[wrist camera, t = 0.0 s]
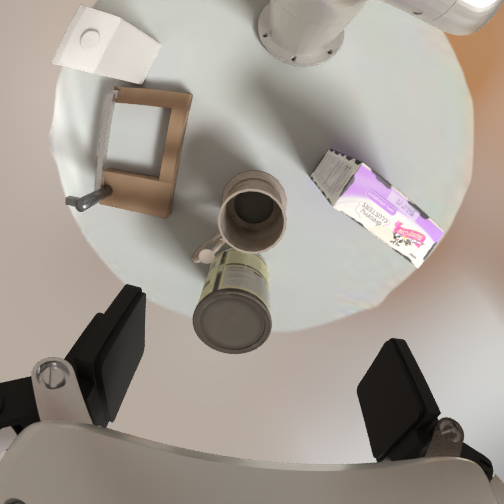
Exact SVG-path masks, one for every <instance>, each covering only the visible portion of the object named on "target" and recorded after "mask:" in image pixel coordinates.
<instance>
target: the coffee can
mask: <svg viewBox="0 0 504 504" xmlns="http://www.w3.org/2000/svg"><path fill="white" fill-rule="evenodd" d="M193 326H194V330H195V332H196V334H197V336H198V337H199V338H200V339H201V340H202V341H203V342H204V343H205V344H206V345H208V346H209V347H211V348H212V349H214V350H217V351H219V352H223V353H229V354H241V353H246V352H250V351H252V350H255V349H257V348H258V347H260V346H261V345H262V344H263V343H264V342H265V341H266V340H267V339H268V337H269V335H270V332H271V328H272V320H271V315H270V292H269V269H268V266H267V264H266V262H265V261H264V259H263V258H262V257H261V256H260V255H259V254H248V253H243V252H240V251H237V250H235V249H234V248H229V249H226V250H224V251H222V252H220V253H219V254H218V255H217V256H216V257H215V259H214V261H213V262H212V263H211V265H210V268H209V272H208V275H207V278H206V281H205V284H204V287H203V290H202V293H201V296H200V299H199V302H198V305H197V307H196V309H195V311H194V314H193Z"/></svg>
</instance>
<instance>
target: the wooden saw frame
mask: <svg viewBox="0 0 504 504" xmlns="http://www.w3.org/2000/svg"><path fill="white" fill-rule="evenodd" d="M114 90H119V91H121V92H120V97H119V98H116V99H115V102H116V103H128V104H139V105H148V106H157V107H165V108H172V111H171V115H170V120H169V125H168V131H167V136H166V141H165V147H164V152H163V158H162V164H161V171H160V177H155V176H150V175H144V174H139V173H133V172H127V171H122V170H116V169H106V170H105V175H104V186H106V185H109V186H111V187H112V189H113V193H112V195H111V196H109V197H107V198H105V199H104V200H102V201H100V202H99V204H102V205H107V206H112V207H116V208H121V209H126V210H130V211H135V212H140V213H144V214H149V215H154V216H158V217H163V218H167V217H168V216H169V215H170V214H171V209H172V203H173V196H174V190H175V183H176V177H177V172H178V166H179V160H180V155H181V150H182V144H183V139H184V134H185V129H186V124H187V120H188V115H189V110H190V106H191V101H192V97H193V95H191V94H188V93H180V92H172V91H164V90H154V89H143V88H130V87H115V88H114ZM104 186H103V187H104Z"/></svg>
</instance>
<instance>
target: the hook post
mask: <svg viewBox="0 0 504 504" xmlns="http://www.w3.org/2000/svg"><path fill="white" fill-rule="evenodd" d="M112 193H113V189H112V187H111V186H109V185H106V186H104V187H102V188H100V189H98V190H96V191H94V192H92V193H90V194H88V195H86V196H84V197H82V198H78V197H73V196H68V197H66V205H71V206H75V207H76V209H77V210H78V211H79V212H83V211H85V210H86V209H88V208H90V207H91V206H93V205H95V204H96V203H98V202H100V201H102V200H104V199H105V198H107V197H109V196H111V195H112Z"/></svg>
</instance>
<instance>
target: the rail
mask: <svg viewBox="0 0 504 504" xmlns="http://www.w3.org/2000/svg"><path fill="white" fill-rule="evenodd" d="M120 92H121V91H119V90H111V93H108V95H107V100H106V105H105V111H104V117H103V123H102V129H101V136H100V144H99V152H98V161H97V171H96V183H95V191H96V190H98V189H100V188H102V187H103V186H104V175H105V165H106V157H107V149H108V141H109V134H110V128H111V121H112V115H113V110H114V104H115V99H116V98H119V97H120Z"/></svg>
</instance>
